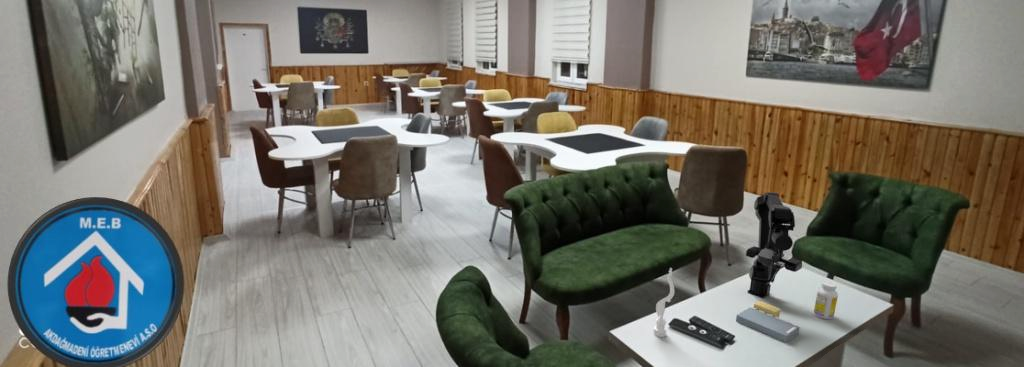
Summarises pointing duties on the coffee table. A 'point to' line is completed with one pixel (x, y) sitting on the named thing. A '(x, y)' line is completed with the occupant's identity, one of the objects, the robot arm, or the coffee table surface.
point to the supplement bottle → (826, 300)
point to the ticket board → (768, 324)
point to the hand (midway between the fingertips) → (769, 279)
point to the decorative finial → (663, 309)
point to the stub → (767, 308)
